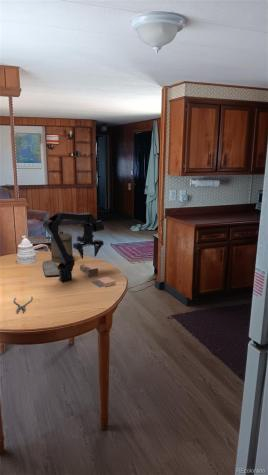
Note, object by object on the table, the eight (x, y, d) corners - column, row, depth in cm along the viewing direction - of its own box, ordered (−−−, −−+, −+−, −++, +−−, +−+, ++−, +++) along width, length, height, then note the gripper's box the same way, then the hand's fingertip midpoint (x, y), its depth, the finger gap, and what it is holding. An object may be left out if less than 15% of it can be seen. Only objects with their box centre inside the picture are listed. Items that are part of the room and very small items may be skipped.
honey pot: (14, 261, 246) (12, 236, 242) (31, 257, 254) (29, 233, 250) (22, 265, 237) (20, 239, 233) (39, 261, 245) (38, 236, 241)
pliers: (31, 295, 186) (37, 310, 168) (31, 296, 186) (37, 311, 168) (12, 297, 182) (16, 313, 164) (12, 299, 182) (16, 315, 164)
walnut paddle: (77, 271, 226) (77, 263, 225) (86, 269, 229) (85, 262, 228) (89, 278, 213) (89, 270, 212) (98, 276, 217) (97, 268, 215)
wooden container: (73, 256, 257) (72, 227, 252) (71, 262, 243) (70, 232, 237) (53, 257, 256) (52, 227, 251) (50, 263, 242) (48, 232, 237)
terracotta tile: (97, 282, 205) (105, 287, 198) (97, 278, 204) (105, 283, 197) (107, 280, 209) (115, 284, 202) (107, 276, 208) (115, 280, 201)
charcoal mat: (99, 288, 197) (99, 287, 197) (90, 282, 206) (90, 281, 206) (115, 284, 203) (115, 283, 203) (106, 278, 212) (106, 278, 212)
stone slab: (56, 259, 243) (61, 271, 215) (57, 264, 244) (61, 276, 216) (41, 261, 240) (44, 273, 212) (42, 265, 241) (44, 278, 213)
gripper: (94, 229, 225) (95, 252, 229) (68, 232, 214) (69, 257, 218) (103, 232, 216) (104, 256, 220) (76, 236, 206) (77, 261, 209)
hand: (88, 257), depth 217 cm, fingers open, 9 cm apart
